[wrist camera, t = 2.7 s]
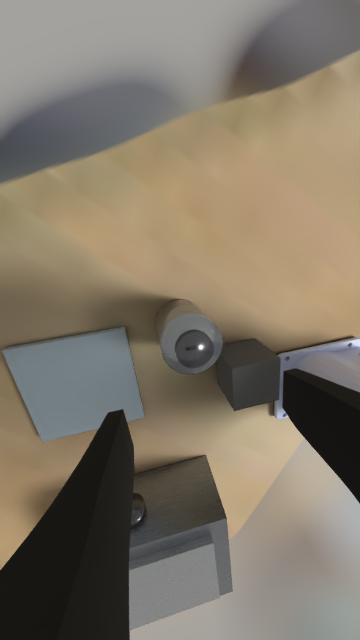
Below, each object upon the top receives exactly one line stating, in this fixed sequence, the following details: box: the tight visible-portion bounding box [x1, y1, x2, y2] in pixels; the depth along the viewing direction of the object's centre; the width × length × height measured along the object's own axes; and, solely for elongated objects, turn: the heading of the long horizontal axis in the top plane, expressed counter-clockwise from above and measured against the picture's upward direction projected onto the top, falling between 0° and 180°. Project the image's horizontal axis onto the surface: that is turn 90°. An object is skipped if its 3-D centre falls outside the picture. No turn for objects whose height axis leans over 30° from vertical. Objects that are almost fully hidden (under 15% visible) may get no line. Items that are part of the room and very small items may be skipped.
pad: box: [2, 326, 145, 442], centre depth 18 cm, size 9×9×1 cm
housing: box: [129, 455, 233, 630], centre depth 22 cm, size 12×13×7 cm
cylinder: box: [156, 299, 223, 374], centre depth 16 cm, size 4×4×6 cm
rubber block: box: [216, 339, 281, 411], centre depth 19 cm, size 4×4×4 cm
